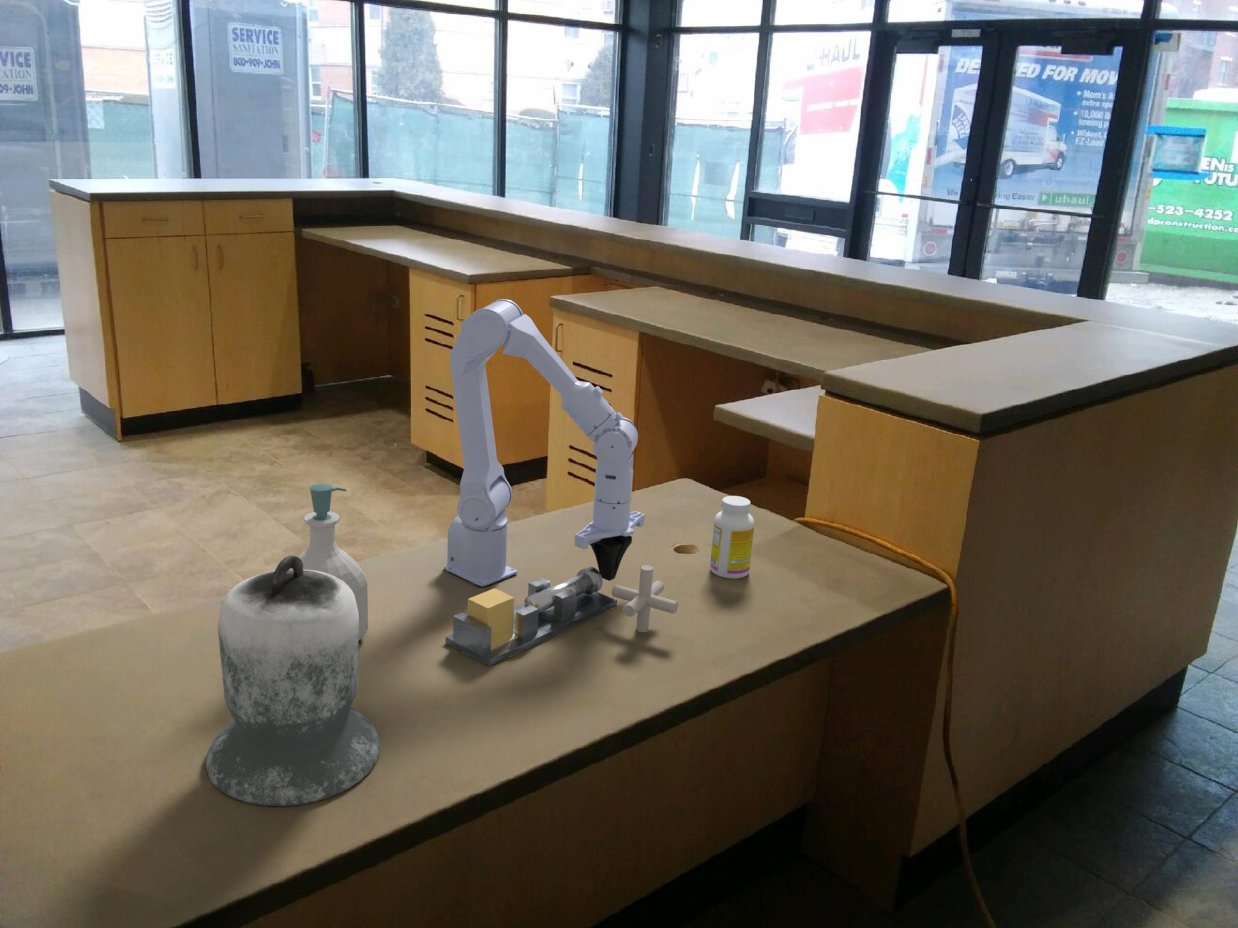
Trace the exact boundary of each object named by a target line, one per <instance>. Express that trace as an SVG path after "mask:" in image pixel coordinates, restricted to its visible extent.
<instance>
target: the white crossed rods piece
mask: <svg viewBox="0 0 1238 928" xmlns="http://www.w3.org/2000/svg"><path fill="white" fill-rule="evenodd" d="M653 575H654V567H653V566H652V565H649V564H648V565H647V564H644V565H641V566H640V573H639V585H638V590H637V589H633V588H630V587H627V586H623V585H619V584H614V585H613V587H612V590H611V596H612V597H614V598H618V599H621V600H624V601H628V603H627V604H626V605H624V606H623V607H622V608H623V609H622V611H623V614H624V615H625V616H626V617H628V618H631V617H633V616H635V614H636V615H637V616H636V625H635V630H636V631H637V632H639V633H647V632H648V631H649V627H650V612H651V608H652V609H655V610H659V611H663V612H666V613H669V614H673V615H674V614H676V613H677V610H678V607H679V603H678V601H676V600H672V599H668V598H665V597H662V596H658V595H660V594H661V593H662V592H663V591H664V590H665V584H664V583H663V581H661V580H656V581H654V582H653V577H654V576H653Z"/></svg>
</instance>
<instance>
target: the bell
mask: <svg viewBox="0 0 1238 928" xmlns="http://www.w3.org/2000/svg"><path fill="white" fill-rule="evenodd" d="M291 568H293V569H291ZM289 569H290V570H289ZM217 633H218V644H219V654H220V665H221V667H220V668H221V675H222V684H223V685H222V687H223V695H224V696H223V697H224V701H225V704H226V705H225V706H226V707H227V709H228V710H229V713H231V716H232V718H233V719H232V720H231V721H230V722H229V723H227V724H226V725H225V726H224V728H223V729H222V730H220V732H218V734H217V735H216V736H215V737H214V739H213V740H212V742H211V744H210V747H209V748H208V749H207V755H206V761H205V766H206V772H207V776H208V777H209V779H210V781H211V783H212V784H213V786H214V787H215V788H217V789H218V791H220V792H221V793H222V794H225V795H227V796H228V797H230V798H232V799H234V800H237V801H240V802H243V803H246V804H250V805H256V806H257V805H258V806H263V807H289V806H291V807H292V806H300V805H305V804H306V805H307V804H312V803H315V802H319V801H322V800H326V799H329V798H331V797H335V796H337V795H339V794H340V793H342V792H345V791H347V790H349V789H351V788H352V787H354V786H355V785H357V784H358V783H359V782H361V781H362V780H363V779H364V778H365V777H366V776H367V775H369V773H370V772H371V771H372V770H373V768H374V767H375V765H376V763H377V762H378V759H379V756H380V752H381V745H380V741H381V740H380V737H379V733H378V732H377V729H376V727H375V726H374V725H373V724H372V723H371V721H370V719H368V718H367V717H366V716H364V714H362V713H361V712H359V711H358V710H356V709H355V708H353V707H352V705H353V702H354V700H355V698H356V695H357V692H358V690H359V689H358V688H359V643H360V642H359V641H360V640H359V613H358V609H357V604H356V599H355V595H354V593H353V591H352V590H351V588H350V587H349V586H348V585H347V584H346V583H345V582H344V581H342V580H340V579H339V578H337V577H335V576H333V575H330V574H327V573H324V572H320V571H314V570H303V563H302V560H301V559H300V558H299V557H298V556H297V555H287V556H285V557H284V558H282V560H280V562H279V563H278V565H276V568H275V570H272V571H268V572H264V573H260V574H257V575H253V576H251V577H249V578H246V579H244V580H242V581H240V582H239V583H237V584H235V586H233V587H232V588H231V589H230V590H229V591H228V592H226V595H225V596H224V598H223V600H222V601H221V603H220V607H219V614H218V623H217Z"/></svg>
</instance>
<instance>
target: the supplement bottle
mask: <svg viewBox="0 0 1238 928" xmlns="http://www.w3.org/2000/svg"><path fill="white" fill-rule="evenodd" d="M721 508H722V510H721V511H719V512H717V514H716V515H715V516H714V520H713V531H712V532H713V533H712V544H711V554H710V567H709V568H710V571H711V572H712V573H713V574H714V575H716V576H719V577H721V578H725V579H731V580H735V579H742V578H745V577H746V576H747V575H749V573H750V570H751V568H750V567H751V559H752V551H753V542H754V541H753V540H754V532H755V519H754V517H753V516H752V515H751V513H749V511H750V509H751V501H750V499H748V498H746V497H743V496H739V495H728V496H724V497H723V498H722V499H721Z"/></svg>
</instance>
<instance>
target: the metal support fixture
mask: <svg viewBox="0 0 1238 928" xmlns="http://www.w3.org/2000/svg"><path fill="white" fill-rule="evenodd" d="M527 587H528V589H527V597H528V596H531V595H533V594H536V593H538V592H540V591H543V590H545V589H547V588H550V587H551V580H550V579H548V578H545V577H543V576H542V577H540V578H538V579H535V580H533V581H530V582H528V586H527ZM576 593H577V592H575V591H572V590H570V589H567V590H565V591H562V592H560V593H558V594H556V595H555V599H554V606H553V607H551V608H549V609H547V610H544V611H542V612H540V613H538V612H539V609H538V608H535V607H533V606H531V605H530V606H528V607H525V605H524V603H521V604H520V605H517V606H514V620H513V636H511V637H509V638H507V639H505V640H503V641H500V642H498V643H496V644H494V645H491V627H490V626H488V625H486V624H484V623H482V622H480V621H478V620H476V619H474V618H472V617H470V616H468V614H466V613H464V612H460V613H458V614H455V615H453V616H452V633H451V634H448V635H447V636H445V644H447V645H449V646H450V647H452V648H454V649H456V650H457V651H460V652H462V653H464V654H465V655H467V656H469V657H471V658H473V659H474V660H477V661H478V662H480V663H483V664H484V665H486V666H488V667H492V666H493V665H496V664H498V663H499V662H500V663H501V662H502V661H504V660H506V659H508V658H510V657H513V656H515V655H516V654H519V653H521V652H524V651H525V650H528V649H530V648H532V647H534V646H536V645H538V644H541V643H542V642H545V641H546V640H549V639H550V638H551V639H552V637H555V636H557V635H559V634H561V633H564V632H566V631H568V630H569V629H572V628H574V627H576V626H578V625H580V624H583V623H585V622H587V621H589V620H591V619H594V618H595V617H597V616H599V615H601V614H603V613H605V612H608V611H610V610H613V609H614V608H616V607H618V600H617V599H615V598H612V597H610V596H608V595H605V594H604V593H601V592H599V591H597V592H595V593H592V594H589V595H588V594H585V593H583V594H580V595H578V596H576Z"/></svg>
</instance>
